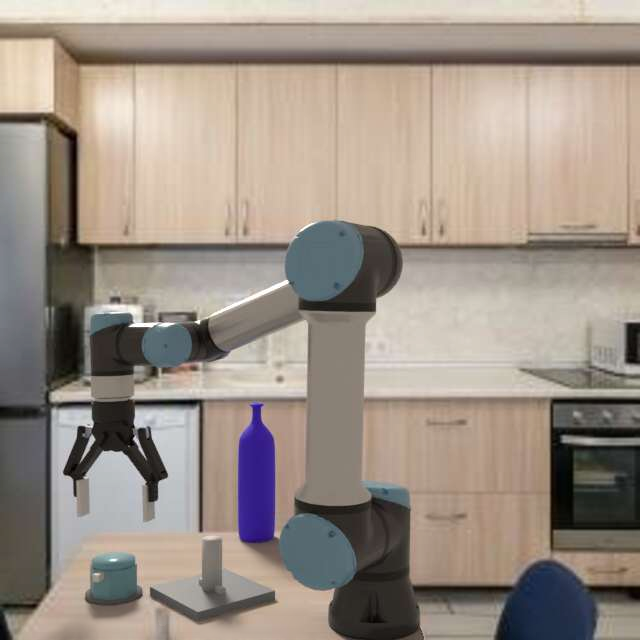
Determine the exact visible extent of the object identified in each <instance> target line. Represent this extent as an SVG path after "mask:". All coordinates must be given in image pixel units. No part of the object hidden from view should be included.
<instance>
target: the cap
mask: <svg viewBox="0 0 640 640" xmlns="http://www.w3.org/2000/svg"><path fill="white" fill-rule="evenodd" d="M89 571H90V572H89V573H90V575H89V576H90V577H89V579H90V584H89V586H90V587H89V589H90V592H91V594H92V596H93V598H97V599H104V600H114V599H121V598H127V597H129V596H131V595H132V594H134V593H136V592H137V585H138V564H137V562H136V556H135V555H134V554H132V553H129V552H119V551H118V552H116V551H115V552H106V553H101V554H98V555H95V556H94V557H92V558H91V564H90V565H89Z"/></svg>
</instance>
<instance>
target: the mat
mask: <svg viewBox="0 0 640 640" xmlns="http://www.w3.org/2000/svg"><path fill="white" fill-rule="evenodd" d="M142 596H143V587H142V586H141V585H138V584H137V592H136V593H134V594H132V595H131V596H129V597H127V598H121V599H114V600H104V599H97V598H93V596H92V594H91V592H90V588H89V589H87V590H86V591H85V593H84V599H85V600H86V602H88V603H90V604H92V605H98V606H116V605H117V606H118V604H119V605H124V604H127V603H128V602H129V603H131V602H130V601H132V602H134V601H136V599H137V600H138V599H139V598H140V599H141V597H142ZM123 603H124V604H123ZM129 603H128V604H129Z"/></svg>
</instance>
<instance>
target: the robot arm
mask: <svg viewBox="0 0 640 640" xmlns="http://www.w3.org/2000/svg"><path fill="white" fill-rule="evenodd" d="M403 263H404V260H403V255H402V250H401V248H400V246H399V244H398V242H397V241H396V239H395V238H394V237H393V236H392V235H391V234H390V233H388V232H387V231H386V230H383V229H382V228H380V227H378V226H377V227H376V226H372V225H366V224H359V223H355V222H350V221H349V222H348V221H345V220H336V219H333V220H319V221H315V222H312V223H310V224H307V225H306V226H305V227H303V228H302V229H301V230H300V231H299V232H298V233H296V235H295V236H294V237H293V238H292V240H291V241H290V242H289V245H288V247H287V251H286V254H285V257H284V272H285V277H286V278H285V279H286V280H284V281H283V282H280V283H277V284H275V285H273V286H271V287H269V288H267V289H265V290H262V291H259V292H258V293H256V294H253V295H252V296H249V297H247V298H245V299H243V300H240V301H238V302H235V303H234V304H232V305H229V306H227V307H225V308H222V309H221V310H219V311H216V312H213V314H210V315H208V316H206V317H203V318H201V319H199V320H195V321H179V322H178V321H174V322H172V321H171V322H168V321H167V322H163V321H160V322H145V323H144V322H143V323H141V322H140V323H137V322H136V323H135V322H134V318H133V314H132V313H131V312H127V311H126V312H125V311H124V312H95V313H93V314H92V315H91V317H90V319H89V320H90V322H89V334H88V338H89V345H90V346H89V347H90V348H89V349H90V350H89V351H90V353H89V354H90V357H89V358H90V397H91V398H92V399H94V400H93V401H92V402H91V403H90V404H91V420H92V421H93V424H92V425H91V424H89V423H85V424H81V425H78V426H77V428H76V438H75V441H74V444H73V446H72V448H71V450H70V453H69V456H68V458H67V461H66V463H65V465H64V468H63V470H62V473H63V474H62V475H64V476H65V477H67V476H68V477H70V478H71V479H72V483H73V484H72V485H73V486H72V488H73V489H72V490H73V491H72V493H73V494H72V495H73V497H74V498H76V516H77V518H82V517H83V516H87V515H88V514H91V513H90V512H91V511H90V509H91V508H90V478H89V477H87V476H88V475H87V474H88V472H89V470H90V469H91V468H92V467H93V465H94V464H95V463H96V461H97V459H99V457H100V456H101V454H102V453H103V452H114V453H119V452H122V453H123V455H124V456H127V458H128V459H129V461H130V462H131V463H132V464H133V466H134V467H135V469H136V470H137V471H138V473H139V474H140V475H141V477H142V479H143V480H144V481H145V483H143V484H142V485H141V487H142V489H141V491H142V492H141V493H142V522H144V523H147V522H150V521H152V520H155V518H156V513H155V512H156V505H155V503H156V502H158V499H159V482H160V481H163V480H166V479H168V478H169V473H168V471H167V469H166V466H165V463H164V462H163V460H162V458H161V455H160V453H159V451H158V448H157V447H156V444H155V442H154V440H153V434H152V428H151V426H150V425H145V426H142V427H136V425H135V419H136V404H135V403H136V402H135V400H134V399H133V398H132V397H134V396H135V367H153V368H154V367H155V368H156V367H158V368H161V369H164V368H173V367H174V368H175V367H179V366H182V365H184V364H192V363H194V364H195V363H213V362H215V361H219V360H223V359H225V358H226V357H228V356H229V354H230V353H231V352H232V351H234V350H236V349H239V348H241V347H243V346H246V345H248V344H251V343H252V342H256V341H258V340H260V339H263V338H266V337H267V336H269V335H272V334H275V333H277V332H279V331H282V330H284V329H287V328H289V327H291V326H294V325H296V324H298V323H301V322H304V321H306V323H307V355H306V356H307V357H306V358H307V359H306V361H307V363H306V364H307V365H306V366H307V369H306V407H305V408H306V411H305V414H306V416H305V417H306V419H305V457H304V458H305V461H304V463H305V466H304V467H305V468H304V469H305V470H304V482H303V484H302V485H300V486H299V487H298V488H297V489H296V490H295V491H294V503H293V516H291V517H290V518H289V519H288V520H287V522H286V523H285V524H284V525H283V527H282V528H281V531H280V535H279V539H278V544H279V546H278V547H279V552H280V556H281V560H282V563H283V565H284V566H285V568H286V570H287V571H288V572H290V573H291V575H292V576H293V578H294V579H295V580H296V581H297V582H298V583H299V584H301V585H302V586H304V587H305V588H308V589H311V590H314V591H320V592H323V591H330V590H333V589H334V590H333V591H334V592H333V596H332V600H331V601H330V603H329V605H328V610H327V613H328V614H327V615H328V617H327V621H328V625H329V626H330V628H332V629H333V630H334V631H335V632H337V633H339V634H342V635H345V636H348V637H351V638H356V639H362V640H392V639H398V638H402V637H405V636H409V635H411V634H413V633H415V632H416V631H417V630H418V629H419V627H420V626H421V611H420V610H421V608H420V605H419V603H417V598H416V593H415V590H414V587H413V584H412V579H411V577H410V576H411V574H410V573H411V572H410V570H411V568H410V567H411V566H410V565H411V561H410V560H411V559H410V558H411V511H412V506H411V497H410V491H409V490H408V489H407V488H406V487H405V486H403V485H400V484H396V483H390V482H383V481H372V480H363V451H364V450H363V443H364V438H363V437H364V407H365V406H364V405H365V404H364V403H365V371H366V370H365V363H366V361H365V359H366V326H367V324H368V322H369V321H370V320H371V319H372V318H373V317H374V316H375V315H376V314H377V299H379V298H382V297H383V296H385V295H388V293H390V292H391V290H393V289H394V288H395V287H396V286H397V284H398V282H399V281H400V278H401V275H402V271H403V265H404V264H403ZM92 436H93V438H94V441H93V443H92V444H91V445H90V447H89V450H88V452H86V449H87V446H88V444H89V442H90V439H91V437H92ZM135 438H136V439H137V440H138V443H139V445H138V443H136V441H135V440H134V439H135ZM139 447H140V448H141V450H142V452H143V453H142V452H141V451H140V449H139ZM85 452H86V454H85ZM84 454H85V455H84ZM83 456H84V457H83Z"/></svg>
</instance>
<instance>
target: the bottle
mask: <svg viewBox="0 0 640 640" xmlns="http://www.w3.org/2000/svg"><path fill="white" fill-rule="evenodd" d="M249 406H250V407H251V410H252V412H251V413H252V417H251V422H249V425H248V426H247V427H246V428H245V429H244V430H243V432H242V433H241V435H240V437H239V440H238V449H237V450H238V452H237V453H238V454H237V458H238V459H237V525H238V527H237V529H238V530H237V531H238V538H239V539H240V541H243V542H246V543H265V542H266V543H267V542H269V541H272V540H273V539H274V537H275V533H276V532H275V530H276V529H275V528H276V446H275V445H276V444H275V437H274V436H273V434H272V433H271V431H270V430H269V428H268V427H267V426H266V425H265V424H264V422H263V420H262V407H263V406H264V403H262V402H251V403H250V404H249Z"/></svg>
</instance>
